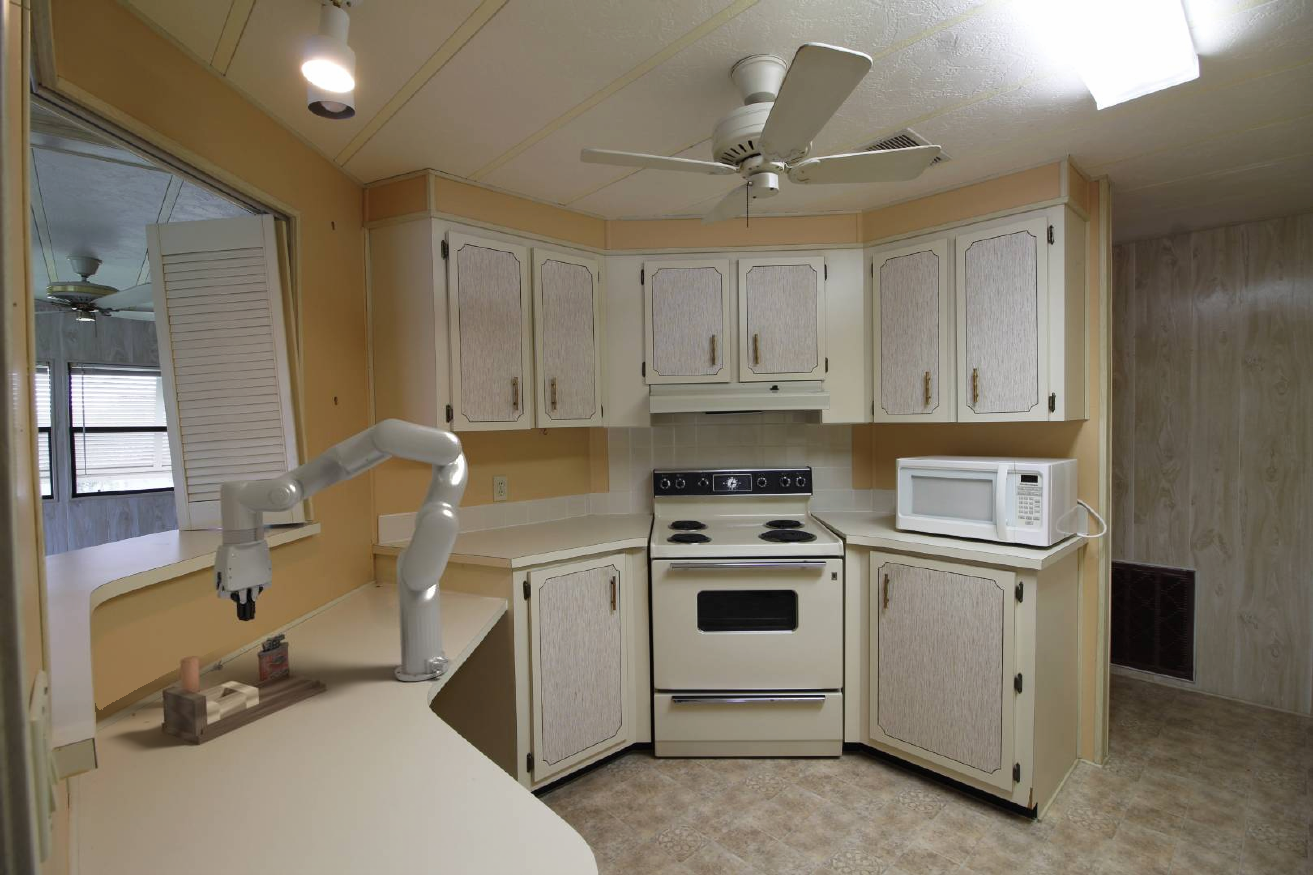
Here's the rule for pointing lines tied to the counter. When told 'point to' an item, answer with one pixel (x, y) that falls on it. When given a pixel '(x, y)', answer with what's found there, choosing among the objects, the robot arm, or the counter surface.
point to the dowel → (190, 674)
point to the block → (229, 700)
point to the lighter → (273, 658)
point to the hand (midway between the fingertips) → (246, 619)
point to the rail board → (190, 713)
